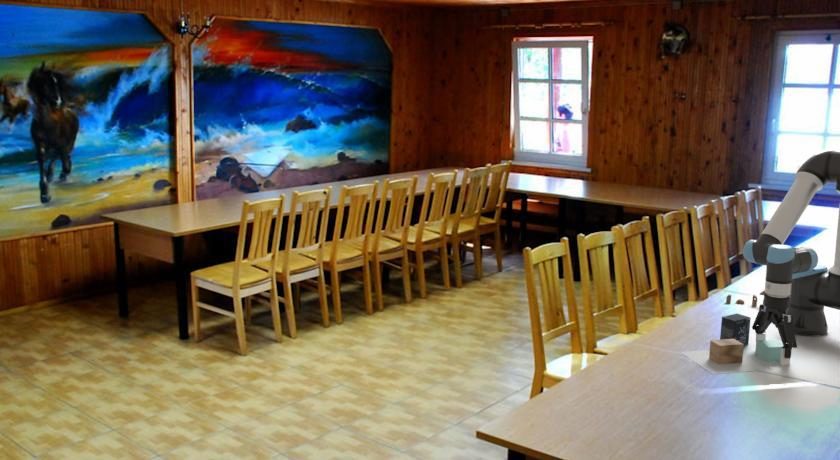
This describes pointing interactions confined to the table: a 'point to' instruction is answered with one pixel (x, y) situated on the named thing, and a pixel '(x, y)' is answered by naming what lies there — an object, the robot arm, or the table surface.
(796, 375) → the table surface
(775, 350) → the teal brick
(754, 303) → the wooden blocks
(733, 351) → the base brick
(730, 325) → the box
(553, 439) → the table surface
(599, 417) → the table surface
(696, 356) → the board
